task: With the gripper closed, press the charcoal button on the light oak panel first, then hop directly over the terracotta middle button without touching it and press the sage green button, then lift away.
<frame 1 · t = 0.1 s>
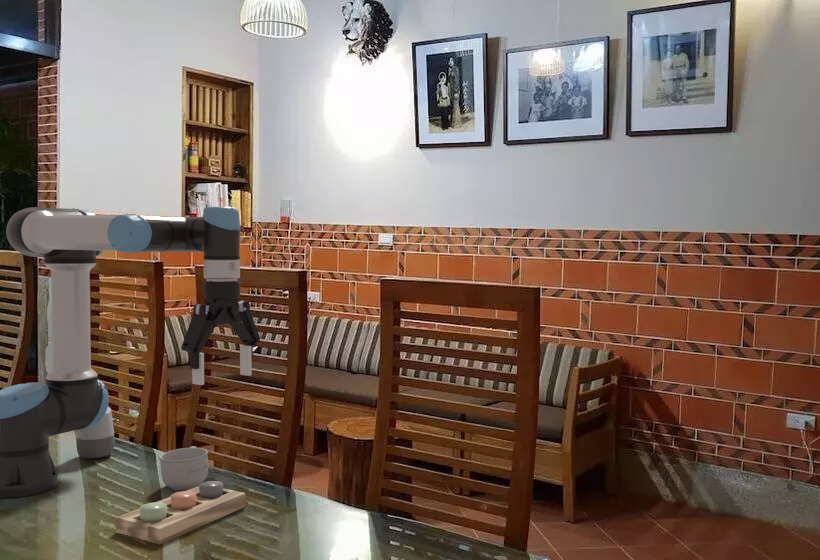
hand: (222, 379, 164), 28 cm above the table, fingers open, 13 cm apart
sage button: (153, 514, 151), point 4 cm above the table, slide at 0.0 cm
button panel: (183, 518, 158), on the table
smart speaker: (95, 457, 203), on the table
charcoal button: (211, 491, 165), point 4 cm above the table, slide at 0.0 cm
teacup: (187, 485, 181), on the table
terracotta button: (183, 502, 158), point 4 cm above the table, slide at 0.0 cm
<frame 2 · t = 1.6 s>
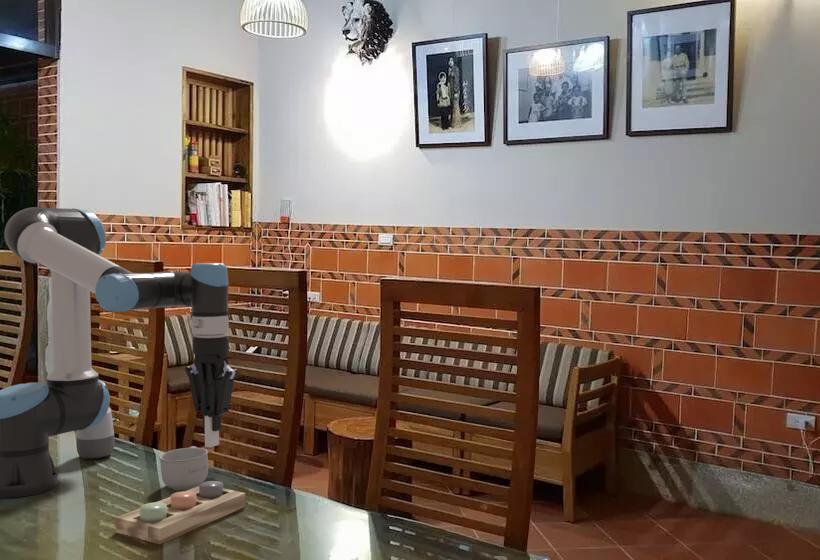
hand: (212, 445, 164), 14 cm above the table, fingers closed
nothing on the table moved.
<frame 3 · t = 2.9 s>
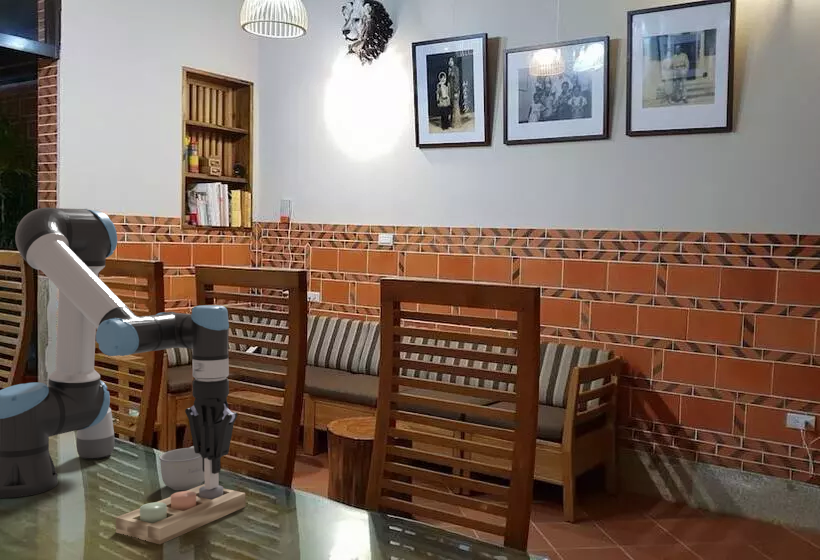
hand: (211, 487, 165), 4 cm above the table, fingers closed
charcoal button: (211, 495, 165), point 3 cm above the table, slide at 0.9 cm, touching gripper
everything else where it was.
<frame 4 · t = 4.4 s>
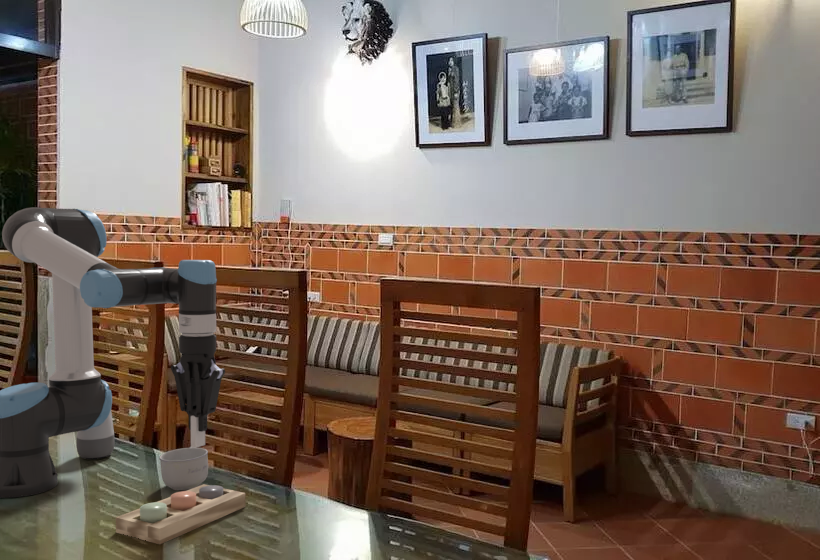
hand: (198, 445, 161), 14 cm above the table, fingers closed
charcoal button: (211, 495, 165), point 3 cm above the table, slide at 1.0 cm
everything else where it was.
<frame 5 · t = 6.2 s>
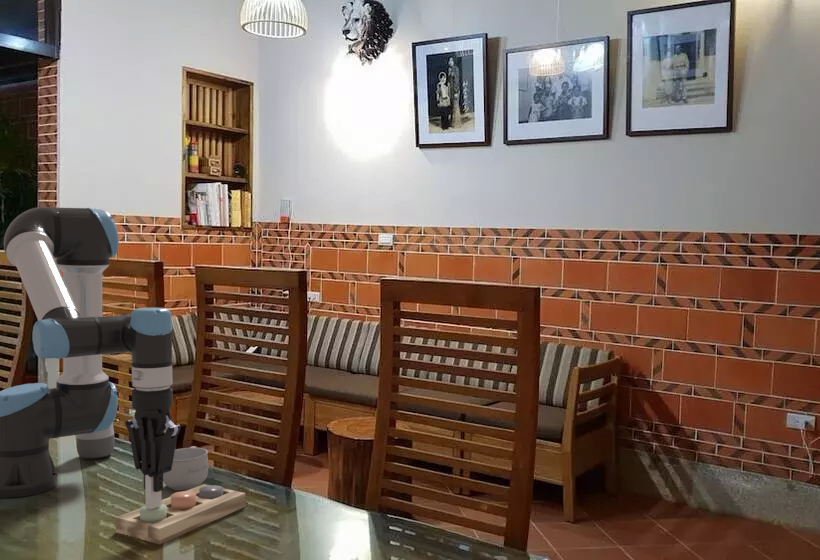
hand: (153, 506, 151), 5 cm above the table, fingers closed
sage button: (153, 515, 151), point 3 cm above the table, slide at 0.3 cm, touching gripper
everything else where it was.
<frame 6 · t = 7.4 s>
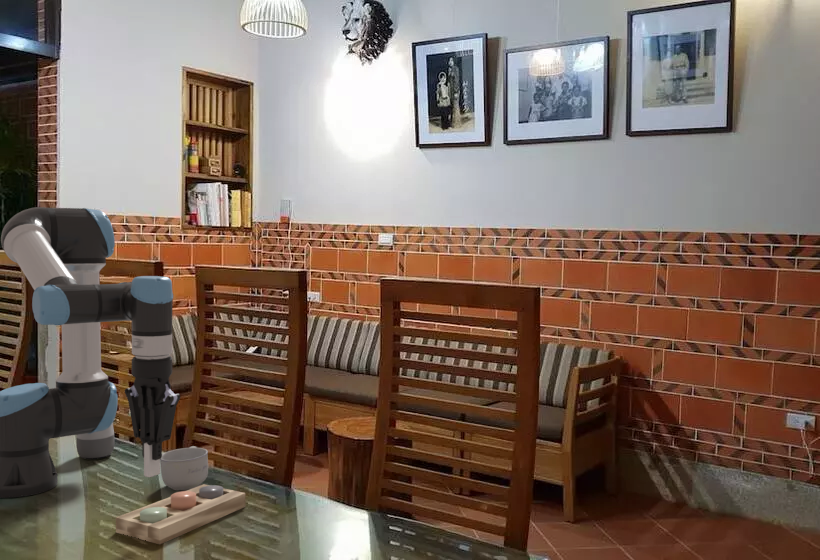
hand: (152, 474, 151), 11 cm above the table, fingers closed
sage button: (153, 519, 151), point 3 cm above the table, slide at 1.0 cm
everything else where it was.
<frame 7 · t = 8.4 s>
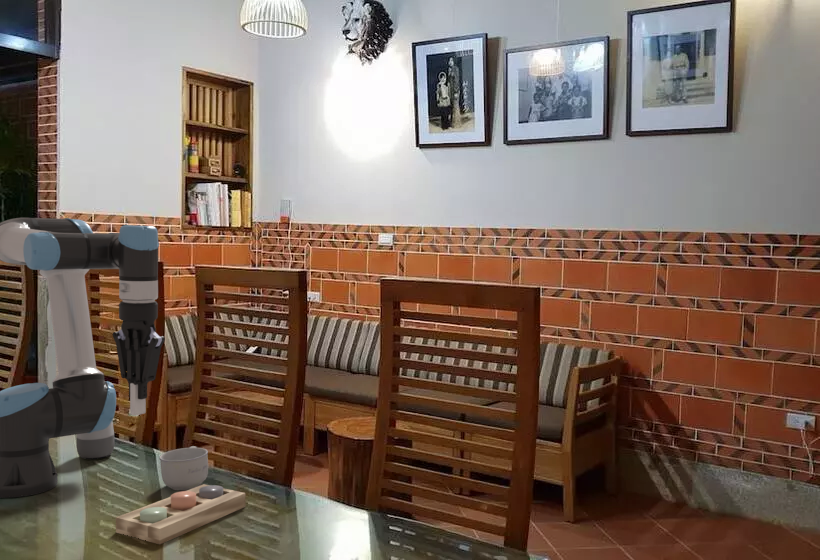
hand: (137, 413, 159), 21 cm above the table, fingers closed
nothing on the table moved.
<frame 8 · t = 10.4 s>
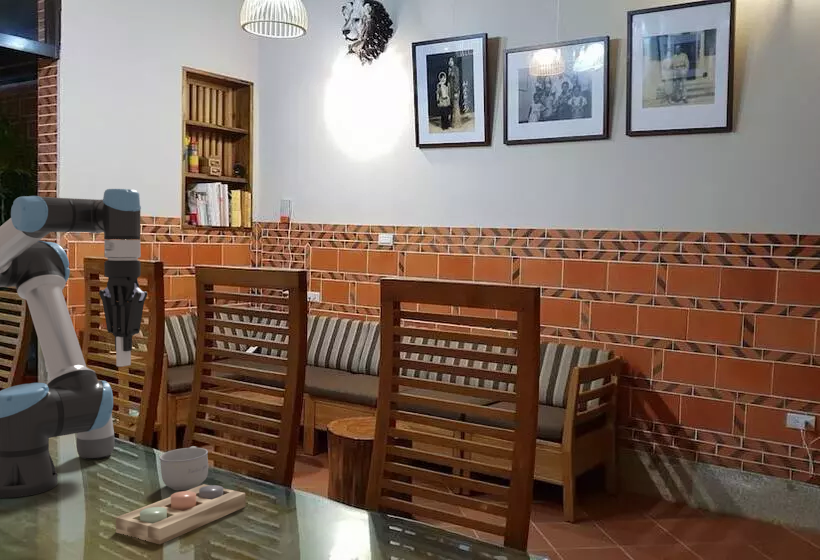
hand: (123, 365, 171), 29 cm above the table, fingers closed
nothing on the table moved.
at the end: charcoal button slide at 1.0 cm; sage button slide at 1.0 cm; terracotta button slide at 0.0 cm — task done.
